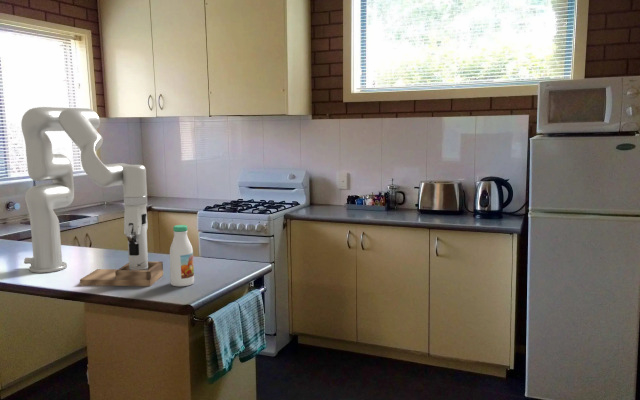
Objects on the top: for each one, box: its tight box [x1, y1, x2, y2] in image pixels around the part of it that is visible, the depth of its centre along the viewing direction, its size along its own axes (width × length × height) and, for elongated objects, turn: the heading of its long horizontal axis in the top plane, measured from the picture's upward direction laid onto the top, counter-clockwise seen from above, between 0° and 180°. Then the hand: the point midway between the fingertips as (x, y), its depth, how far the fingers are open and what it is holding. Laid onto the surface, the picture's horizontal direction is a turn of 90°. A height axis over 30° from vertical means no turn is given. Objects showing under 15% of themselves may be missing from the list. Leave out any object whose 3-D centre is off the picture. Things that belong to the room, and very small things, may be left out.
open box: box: [79, 260, 164, 287], centre depth 189 cm, size 24×13×5 cm, turn 87°
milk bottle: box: [169, 224, 195, 287], centre depth 184 cm, size 8×8×20 cm
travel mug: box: [127, 214, 149, 271], centre depth 187 cm, size 6×7×20 cm
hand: (138, 252), depth 188 cm, fingers closed on travel mug, 6 cm apart
